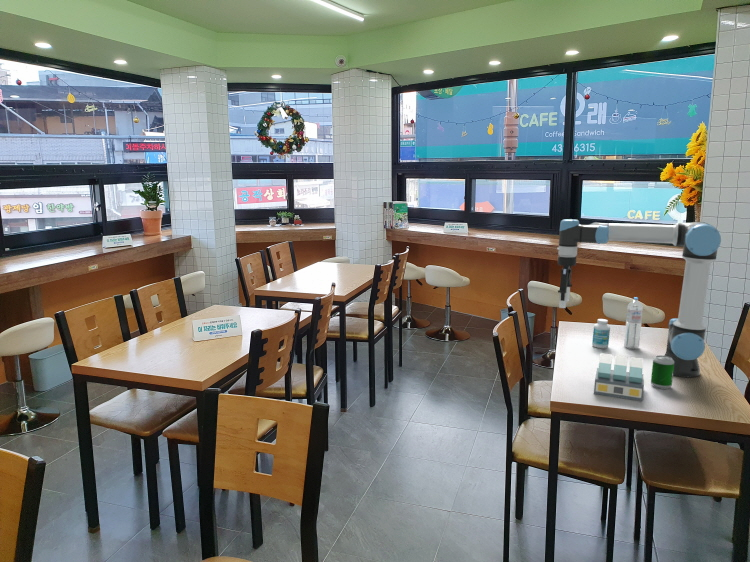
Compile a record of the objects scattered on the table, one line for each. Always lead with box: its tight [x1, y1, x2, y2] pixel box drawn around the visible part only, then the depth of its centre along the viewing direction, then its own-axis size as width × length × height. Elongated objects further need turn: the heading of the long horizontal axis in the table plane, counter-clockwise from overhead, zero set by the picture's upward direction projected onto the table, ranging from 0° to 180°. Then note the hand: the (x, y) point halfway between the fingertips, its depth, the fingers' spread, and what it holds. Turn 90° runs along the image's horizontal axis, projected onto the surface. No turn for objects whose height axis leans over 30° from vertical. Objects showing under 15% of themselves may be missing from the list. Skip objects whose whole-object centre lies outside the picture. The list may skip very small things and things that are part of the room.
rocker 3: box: [628, 356, 644, 383], centre depth 218 cm, size 4×12×2 cm, turn 156°
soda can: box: [650, 355, 674, 390], centre depth 227 cm, size 8×8×12 cm
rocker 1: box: [597, 352, 613, 379], centre depth 223 cm, size 4×12×2 cm, turn 156°
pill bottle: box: [591, 318, 611, 349], centre depth 279 cm, size 8×7×14 cm
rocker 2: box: [613, 354, 628, 381], centre depth 221 cm, size 4×12×2 cm, turn 156°
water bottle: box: [623, 296, 644, 350], centre depth 277 cm, size 7×7×25 cm
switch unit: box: [593, 367, 645, 402], centre depth 221 cm, size 17×14×8 cm
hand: (564, 304), depth 247 cm, fingers open, 13 cm apart
